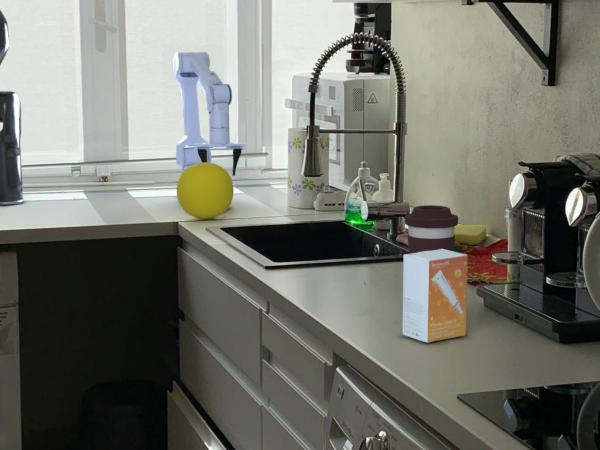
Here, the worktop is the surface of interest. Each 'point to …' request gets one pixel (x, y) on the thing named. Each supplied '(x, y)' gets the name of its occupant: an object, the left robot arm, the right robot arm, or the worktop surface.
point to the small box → (434, 295)
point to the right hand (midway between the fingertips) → (220, 175)
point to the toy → (205, 190)
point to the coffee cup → (431, 228)
